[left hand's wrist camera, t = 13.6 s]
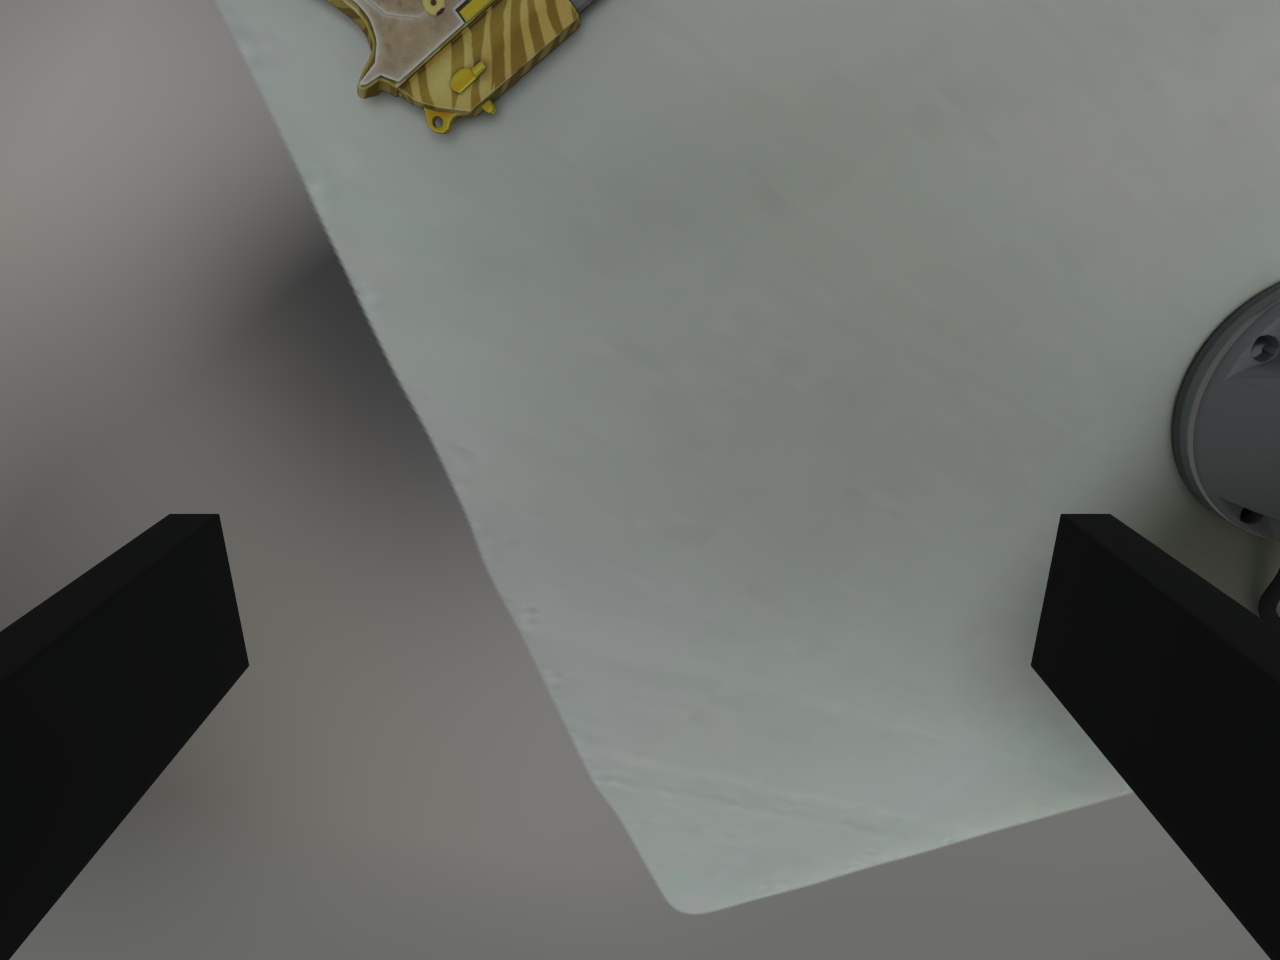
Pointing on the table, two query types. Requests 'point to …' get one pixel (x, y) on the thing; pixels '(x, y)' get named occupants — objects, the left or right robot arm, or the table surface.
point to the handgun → (456, 49)
